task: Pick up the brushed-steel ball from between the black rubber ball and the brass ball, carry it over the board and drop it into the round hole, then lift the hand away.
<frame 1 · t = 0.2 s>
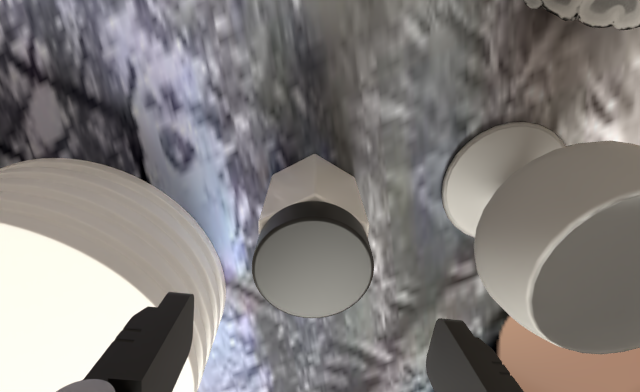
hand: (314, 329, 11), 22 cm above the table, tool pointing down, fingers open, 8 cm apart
jar: (313, 196, 34), on the table
chalice: (502, 182, 34), on the table
plate stack: (96, 280, 38), on the table
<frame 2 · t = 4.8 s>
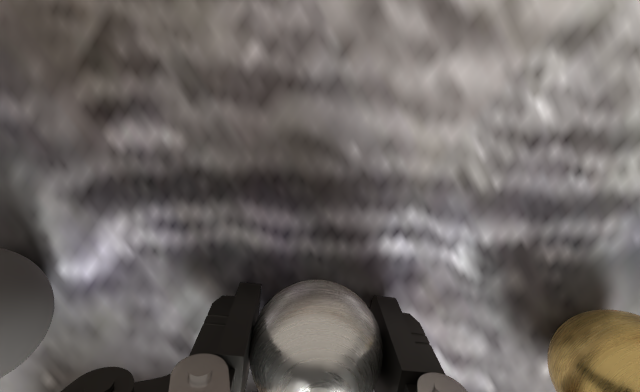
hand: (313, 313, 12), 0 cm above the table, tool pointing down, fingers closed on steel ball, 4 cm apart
brass ball: (620, 374, 11), point 2 cm above the table
steel ball: (316, 347, 11), point 2 cm above the table, touching gripper
when the fingers open (3 cm above the table, at t = 9.0 s): steel ball drops 3 cm, point 2 cm above the table.
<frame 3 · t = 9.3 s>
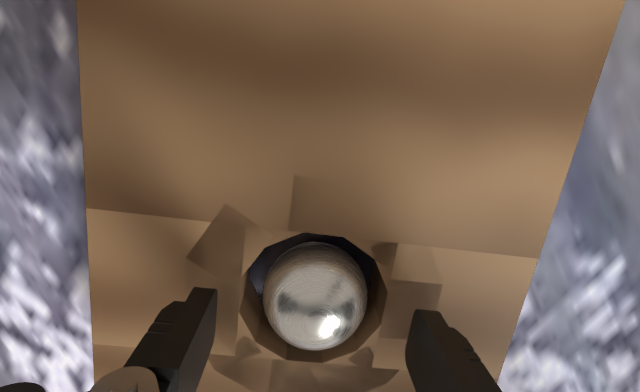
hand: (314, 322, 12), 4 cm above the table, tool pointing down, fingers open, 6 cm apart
steel ball: (315, 293, 14), point 2 cm above the table
board: (328, 157, 14), on the table
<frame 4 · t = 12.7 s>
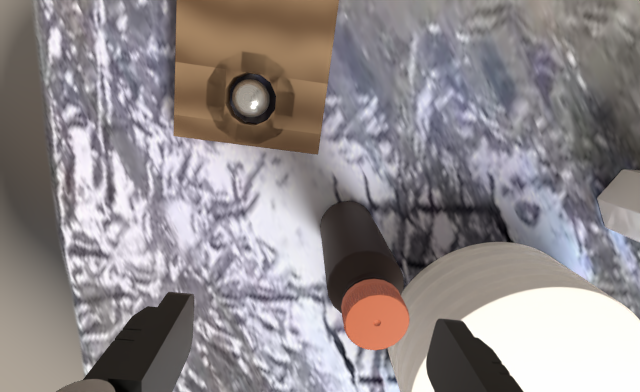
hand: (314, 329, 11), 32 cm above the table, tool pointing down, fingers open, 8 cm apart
steel ball: (251, 98, 38), point 2 cm above the table
bottle: (346, 224, 45), on the table
jar: (627, 198, 46), on the table
plate stack: (482, 330, 51), on the table
board: (257, 52, 39), on the table
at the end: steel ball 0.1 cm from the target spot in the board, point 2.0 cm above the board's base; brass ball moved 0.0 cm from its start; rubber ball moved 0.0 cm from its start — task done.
